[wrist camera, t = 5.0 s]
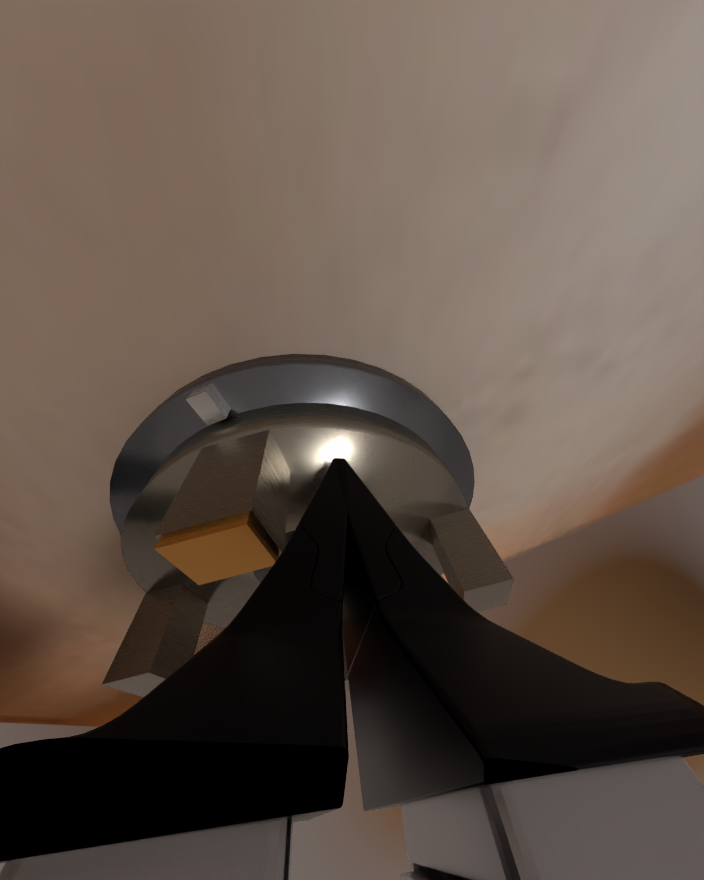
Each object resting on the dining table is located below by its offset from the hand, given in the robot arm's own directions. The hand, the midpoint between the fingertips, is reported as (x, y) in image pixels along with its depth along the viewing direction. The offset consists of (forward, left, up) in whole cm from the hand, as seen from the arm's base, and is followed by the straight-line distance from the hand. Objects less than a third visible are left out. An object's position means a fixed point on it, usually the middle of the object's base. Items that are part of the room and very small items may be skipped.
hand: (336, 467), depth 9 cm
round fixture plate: (-6, -4, -3) cm, 8 cm away
